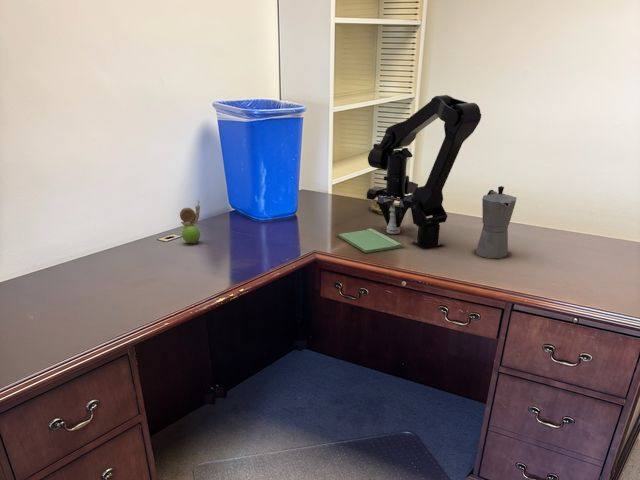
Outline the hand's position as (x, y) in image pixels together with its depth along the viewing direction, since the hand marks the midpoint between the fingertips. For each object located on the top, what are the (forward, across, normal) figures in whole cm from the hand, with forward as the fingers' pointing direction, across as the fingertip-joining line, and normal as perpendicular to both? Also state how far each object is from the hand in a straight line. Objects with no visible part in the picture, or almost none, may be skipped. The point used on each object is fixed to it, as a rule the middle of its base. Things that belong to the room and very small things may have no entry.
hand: (393, 226), depth 185 cm
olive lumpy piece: (+2, +20, -19) cm, 27 cm away
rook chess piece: (+2, 0, 0) cm, 2 cm away
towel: (+2, -1, +12) cm, 12 cm away
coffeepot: (+2, -32, -4) cm, 33 cm away
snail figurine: (+2, +37, +49) cm, 62 cm away
